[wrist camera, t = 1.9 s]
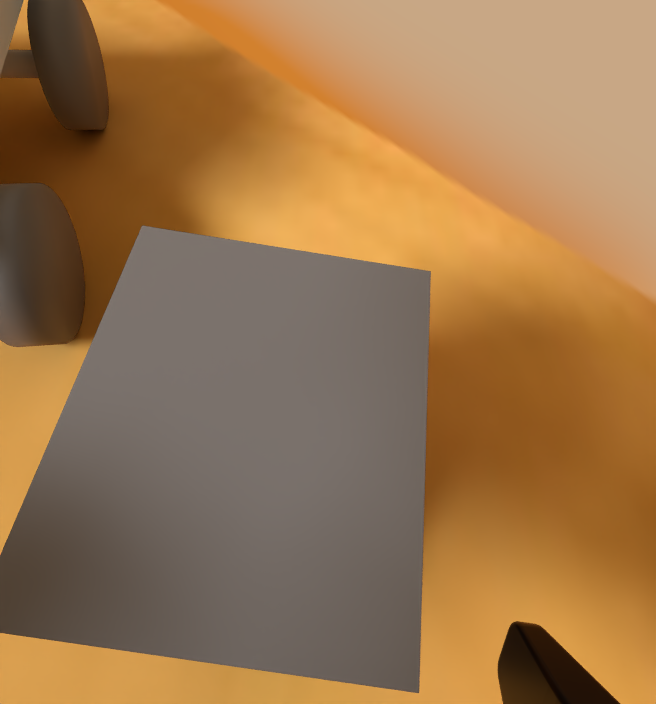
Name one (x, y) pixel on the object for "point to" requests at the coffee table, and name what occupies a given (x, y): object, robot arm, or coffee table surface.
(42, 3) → the trolley
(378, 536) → the grey box
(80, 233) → the coffee table surface
